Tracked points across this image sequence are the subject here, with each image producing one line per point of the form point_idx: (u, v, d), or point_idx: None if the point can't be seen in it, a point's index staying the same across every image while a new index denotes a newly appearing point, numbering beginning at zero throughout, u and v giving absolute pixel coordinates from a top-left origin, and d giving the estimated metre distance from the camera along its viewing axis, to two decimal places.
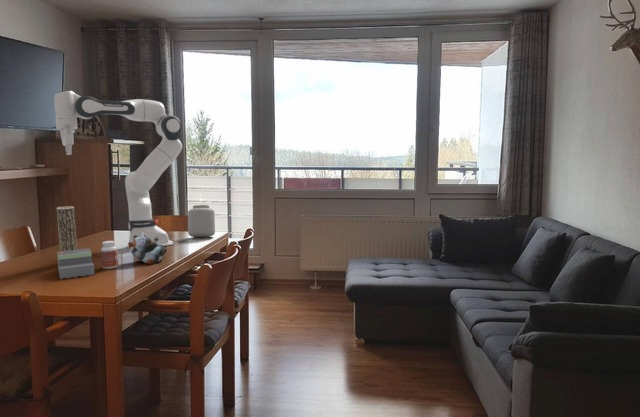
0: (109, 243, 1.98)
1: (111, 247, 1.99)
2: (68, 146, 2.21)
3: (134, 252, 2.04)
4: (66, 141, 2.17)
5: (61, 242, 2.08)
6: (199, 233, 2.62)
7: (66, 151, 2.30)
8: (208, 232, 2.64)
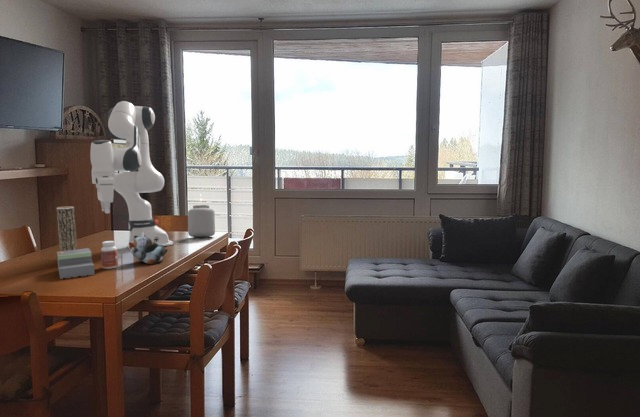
0: (109, 243, 1.98)
1: (111, 247, 1.99)
2: None
3: (135, 252, 2.03)
4: None
5: (61, 242, 2.08)
6: (199, 233, 2.62)
7: None
8: (208, 232, 2.64)
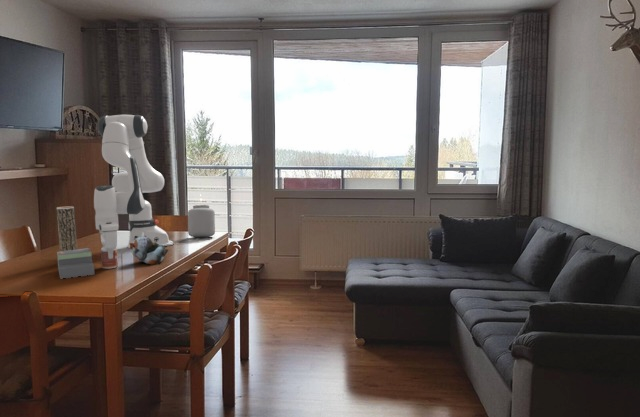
0: None
1: None
2: None
3: (136, 253, 2.02)
4: None
5: (61, 242, 2.08)
6: (199, 233, 2.62)
7: None
8: (208, 232, 2.64)
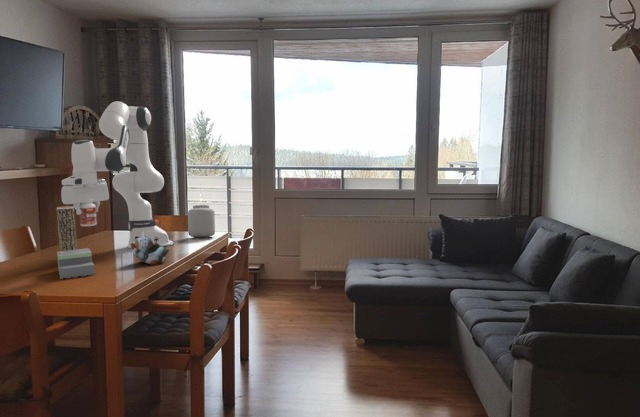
0: None
1: (83, 204, 1.93)
2: None
3: (137, 253, 2.02)
4: None
5: (61, 242, 2.08)
6: (199, 233, 2.62)
7: None
8: (208, 232, 2.64)
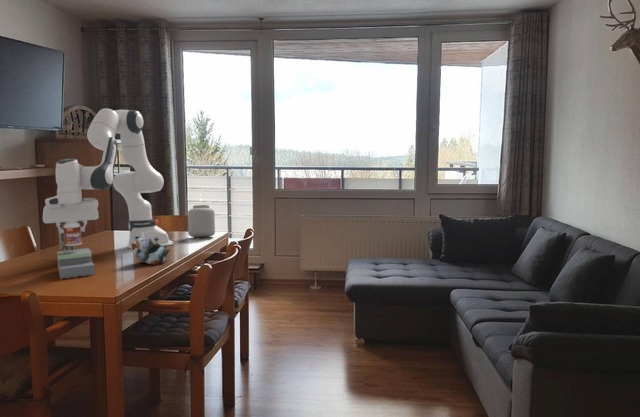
0: None
1: (65, 224, 1.92)
2: (86, 222, 1.97)
3: (138, 253, 2.01)
4: None
5: (61, 242, 2.08)
6: (199, 233, 2.62)
7: (63, 229, 1.92)
8: (208, 232, 2.64)
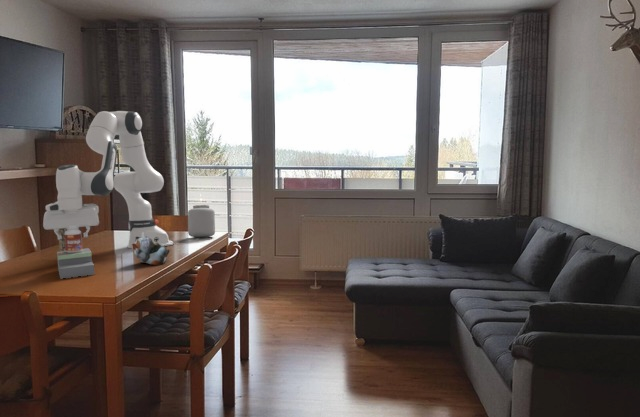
0: None
1: (66, 231, 1.93)
2: (89, 227, 1.97)
3: (139, 253, 2.01)
4: (98, 222, 1.98)
5: (61, 242, 2.08)
6: (199, 233, 2.62)
7: (61, 235, 1.92)
8: (208, 232, 2.64)
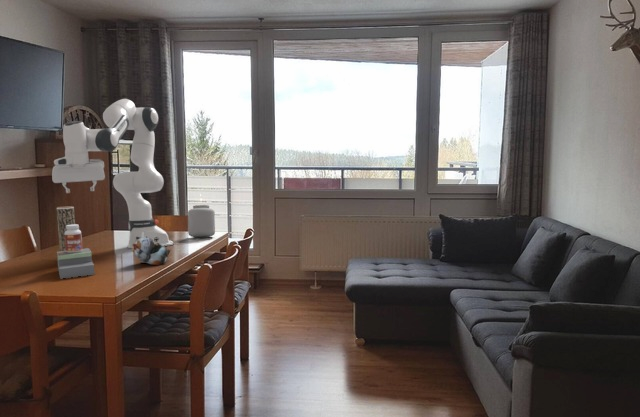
0: (66, 226, 1.93)
1: (66, 231, 1.93)
2: None
3: (140, 253, 2.00)
4: (104, 176, 2.08)
5: (61, 242, 2.08)
6: (199, 233, 2.62)
7: (69, 189, 2.02)
8: (208, 232, 2.64)
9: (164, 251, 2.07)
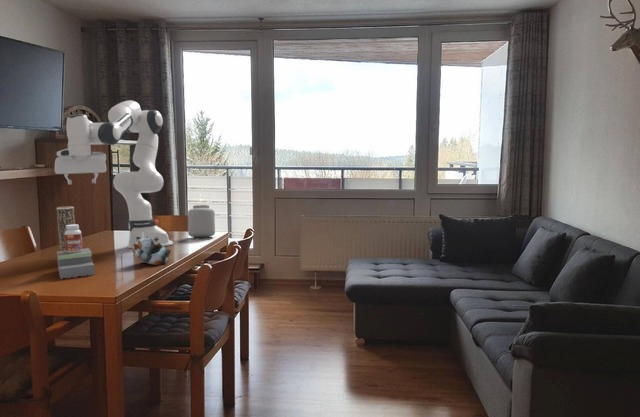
0: (66, 226, 1.93)
1: (66, 231, 1.93)
2: (97, 174, 2.10)
3: (141, 254, 2.00)
4: (106, 169, 2.11)
5: (61, 242, 2.08)
6: (199, 233, 2.62)
7: (71, 180, 2.05)
8: (208, 232, 2.64)
9: (165, 251, 2.07)
